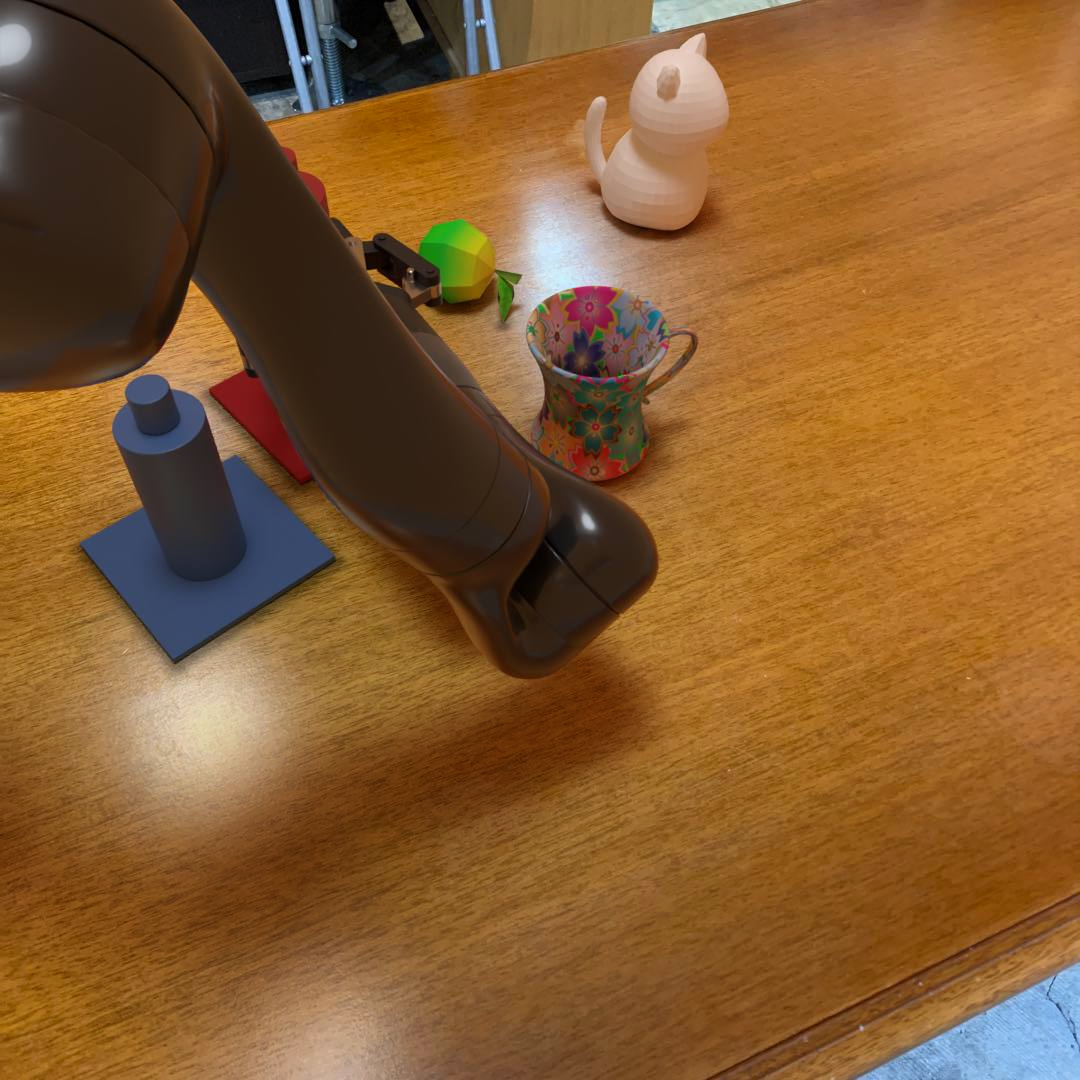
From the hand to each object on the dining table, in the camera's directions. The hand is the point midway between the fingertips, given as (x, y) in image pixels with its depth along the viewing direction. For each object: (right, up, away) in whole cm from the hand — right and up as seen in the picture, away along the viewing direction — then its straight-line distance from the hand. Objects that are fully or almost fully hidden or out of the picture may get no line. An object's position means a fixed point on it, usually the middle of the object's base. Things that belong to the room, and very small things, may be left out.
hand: (279, 240), depth 72 cm
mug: (+22, -13, +7) cm, 26 cm away
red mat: (+1, -9, +9) cm, 13 cm away
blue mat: (-5, -21, 0) cm, 21 cm away
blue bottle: (-5, -20, -1) cm, 21 cm away
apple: (+12, 0, +16) cm, 20 cm away
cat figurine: (+26, +9, +24) cm, 37 cm away
